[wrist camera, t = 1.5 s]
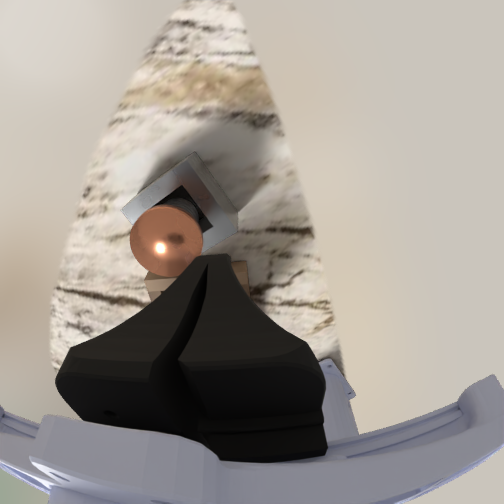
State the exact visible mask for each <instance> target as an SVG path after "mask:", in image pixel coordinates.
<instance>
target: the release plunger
mask: <svg viewBox="0 0 504 504" xmlns="http://www.w3.org/2000/svg"><path fill="white" fill-rule="evenodd" d="M198 222H199V215H198V211H197V209H196V208H195V206H194V205H193V204H192V203H191V202H189V201H188V200H186V199H182V198H173V199H170V200H168V201H166V202H165V203H164V204H163V205H157V206H154V207H151V208H149V209H148V210H146V211H145V212H144V213H142V214H141V216H140V217H139V218H138V219H137V220H136V222H135V223H134V225H133V227H132V229H131V233H130V245H131V249H132V252H133V254H134V256H135V258H136V259H137V261H138V262H139V263H140V264H141V265H142V266H143V267H144V268H145V269H147V270H148V271H150V272H152V273H154V274H157V275H160V276H166V277H174V276H179V275H180V274H181V273H182V272H183V271H184V270H185V269H186V268H187V267H188V265H189V264H190V263H191V262H192V261H193V260H194V259H195V258H196V257H197V256H201V252H202V248H203V233H202V230H201V228H200V226H199V224H198Z"/></svg>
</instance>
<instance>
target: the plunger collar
mask: <svg viewBox="0 0 504 504" xmlns="http://www.w3.org/2000/svg"><path fill="white" fill-rule="evenodd" d="M181 185H183V186H184V188H185V189H186V190H187V192H188V193H189V194H190V196H191V197H192V198H193V200H194V201H195V203H196V204H197V205H198V207H199V208H200V209H201V211H202V212H203V213H204V215H205V217H204V218H202V219H201V220H199V222H198V224H199V226H200V228H201V230H202V233H203V248H202V252H201V253H203V252H205V251H206V250H208V249H209V248H211V247H213V246H214V245H216V244H218V243H219V242H221V241H223V240H224V239H226V238H228V237H229V236H231V235H233V234H235V233H236V232H238V212H237V211H236V209H235V208H234V206H233V205H232V203H231V202H230V200H229V199H228V198H227V196H226V195H225V193H224V192H223V190H222V189H221V188H220V186H219V185H218V183H217V182H216V180H215V179H214V178H213V176H212V175H211V173H210V172H209V171H208V169H207V168H206V166H205V165H204V163H203V162H202V161H201V159H200V158H199V156H198V155H197V154H196V152H193V153H192V154H191V155H189V156H188V157H186V158H185V159H183V160H182V161H181V162H179V163H178V164H176V165H175V166H174V167H172V168H171V169H170V170H168V171H167V172H165V173H164V174H163V175H161V176H160V177H159V178H157V179H156V180H155V181H153V182H152V183H151V184H150V185H148V186H147V187H146V188H144V189H143V190H142V191H141V192H139V193H138V194H137V195H136V196H135V197H134V198H133V199H132V200H130V201H129V202H128V203H127V204H126V205H125V206H124V207H123V208H122V209H121V211H122V213H123V214H124V215H125V216H126V218H127V219H128V220H129V221H130V223H131V224H132V225H134V223H135V222H136V220H137V219H138V218H139V217H140V216H141V214H142V213H144V212H145V211H146V210H148V209H149V208H151V207H154V206H157V205H161V204H160V203H159V201H160V200H162V199H163V198H164V197H166V196H167V195H169V194H170V193H171V192H173V191H174V190H176V189H177V188H178V187H180V186H181Z"/></svg>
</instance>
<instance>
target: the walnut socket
mask: <svg viewBox="0 0 504 504" xmlns="http://www.w3.org/2000/svg"><path fill="white" fill-rule="evenodd" d="M231 265H232V268H233V271H234V273H235V275H236V277H237V279H238V280H239V282H240V284H241V286H242V287H243V289H244V290H245V292H246V293H247V294H248V296H249V297H250V290H249V282H248V273H247V264H246V261H239V262H231ZM177 278H178V276H174V277H166V276H160V275H157V274H154V273H152V272H150V271H148V273H147V276H146V278H145V280H144V282H145V285H146V288H147V291H148V294H149V297H150V299H151V302H153V301H154V300H155V299H156V298H157V297H158V296H159V295H161V294H162V293H163V292H164V291H165V290H166V289H167V288H168V287H169V286H170V285H171V284H172V283H173V282H174V281H175V280H176V279H177Z"/></svg>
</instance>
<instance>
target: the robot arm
mask: <svg viewBox="0 0 504 504" xmlns="http://www.w3.org/2000/svg"><path fill="white" fill-rule="evenodd" d="M55 384H56V387H57V390H58V392H59V393H60V395H61V396H62V398H63V399H64V400H65V401H66V403H68V405H69V406H70V407H71V408H72V409H73V410H74V411H75V412H76V413H77V414H78V416H80V418H81V419H82V420H83V421H81V420H76V419H72V418H68V417H64V416H59V415H44V417H43V419H42V422H41V424H38V423H35V422H33V421H30V420H27V419H24V418H22V417H19V416H16V415H14V414H11V413H9V412H6V411H4V409H3V408H2V407H1V405H0V468H1V469H3V470H4V471H6V472H8V473H9V474H11V475H13V476H15V477H17V478H18V479H20V480H22V481H24V482H25V483H27V484H29V485H31V486H33V487H35V488H37V489H39V490H41V491H43V492H45V493H47V494H49V495H50V496H49V501H48V504H403V503H405V502H408V501H410V500H412V499H415V498H417V497H419V496H421V495H424V494H426V493H428V492H430V491H432V490H434V489H436V488H439V487H440V486H442V485H444V484H446V483H448V482H450V481H452V480H454V479H456V478H458V477H459V476H461V475H463V474H464V473H466V472H468V471H470V470H471V469H473V468H475V467H476V466H478V465H480V464H481V463H483V462H484V461H486V460H487V459H488V458H490V457H491V456H492V455H493V454H495V453H496V452H497V451H499V450H500V449H501V448H502V447H503V446H504V390H503V388H502V386H501V385H500V383H499V381H498V380H497V378H496V376H495V375H490V376H488V377H486V378H484V379H482V380H480V381H478V382H476V383H474V384H472V385H471V386H469V387H468V388H467V389H466V390H465V391H464V392H463V393H462V394H461V396H460V397H459V399H458V401H457V402H455V403H452V404H450V405H448V406H445V407H443V408H441V409H438V410H435V411H433V412H430V413H428V414H425V415H423V416H420V417H417V418H414V419H411V420H408V421H405V422H403V423H399V424H396V425H393V426H390V427H386V428H383V429H379V430H375V431H372V432H368V433H364V434H360V435H359V433H358V429H357V426H356V422H355V419H354V415H353V412H352V409H351V405H350V402H349V400H350V399H352V398H354V397H355V396H356V394H355V392H354V390H353V389H352V388H351V386H350V385H349V383H348V382H347V380H346V379H345V378H344V376H343V375H342V373H341V372H340V370H339V369H338V368H337V366H336V365H335V363H334V362H333V361H332V359H325V360H323V361H321V362H318V360H317V359H316V357H315V355H314V353H313V352H312V350H311V348H310V347H309V345H308V344H307V342H305V341H303V340H302V339H300V338H298V337H296V336H294V335H293V334H291V333H289V332H287V331H286V330H284V329H283V328H282V327H280V326H279V325H277V324H276V323H275V322H274V321H273V320H272V319H270V318H269V317H268V316H267V315H266V314H265V313H263V312H262V310H261V309H260V308H259V307H258V306H257V305H256V304H255V303H254V302H253V301H252V299H251V298H250V297H249V296H248V294H247V293H246V292H245V290H244V289H243V287H242V286H241V284H240V282H239V280H238V279H237V277H236V275H235V273H234V271H233V268H232V265H231V257H230V255H228V254H218V255H206V256H197V257H196V258H195V259H194V260H193V261H192V262H191V263H190V264H189V265H188V267H187V268H186V269H185V270H184V271H183V272H182V273H181V274H180V275H179V276H178V278H177V279H176V280H175V281H174V282H173V283H172V284H171V285H170V286H169V287H168V288H167V289H166V290H165V291H164V292H163V293H162V294H161V295H159V296H158V297H157V298H156V299H155V300H154V301H153V302H151V303H150V304H149V305H148V306H146V307H145V308H144V309H142V310H141V311H140V312H138V313H137V314H135V315H134V316H132V317H131V318H129V319H128V320H126V321H125V322H123V323H122V324H120V325H118V326H116V327H115V328H113V329H111V330H109V331H107V332H105V333H103V334H101V335H99V336H97V337H95V338H93V339H90V340H88V341H86V342H83V343H81V344H78V345H76V346H73V347H71V348H70V350H69V352H68V354H67V356H66V358H65V360H64V362H63V364H62V366H61V368H60V370H59V372H58V374H57V376H56V380H55Z"/></svg>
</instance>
